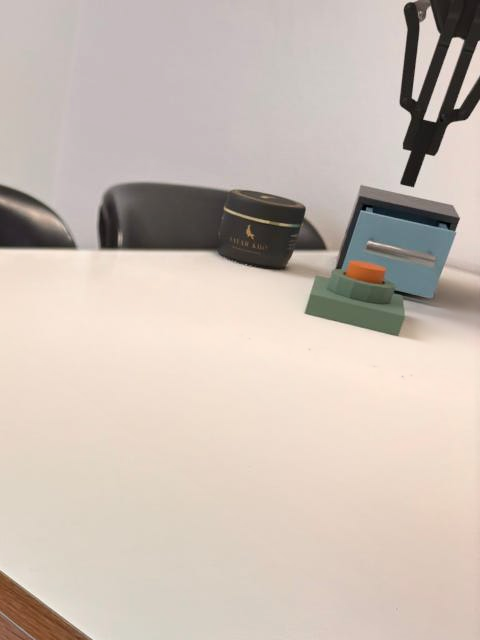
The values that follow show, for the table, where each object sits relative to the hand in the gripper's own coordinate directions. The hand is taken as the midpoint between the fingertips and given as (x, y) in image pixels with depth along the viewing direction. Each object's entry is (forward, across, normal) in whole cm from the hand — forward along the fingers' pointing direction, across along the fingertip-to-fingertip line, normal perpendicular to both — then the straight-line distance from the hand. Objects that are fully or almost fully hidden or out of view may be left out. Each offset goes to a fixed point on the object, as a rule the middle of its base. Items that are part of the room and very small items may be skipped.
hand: (407, 184), depth 119 cm
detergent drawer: (+12, +2, +12) cm, 18 cm away
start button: (+10, -1, -8) cm, 13 cm away
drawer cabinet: (+13, +2, +24) cm, 27 cm away
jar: (+14, -15, +11) cm, 23 cm away
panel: (+13, -1, -8) cm, 15 cm away
